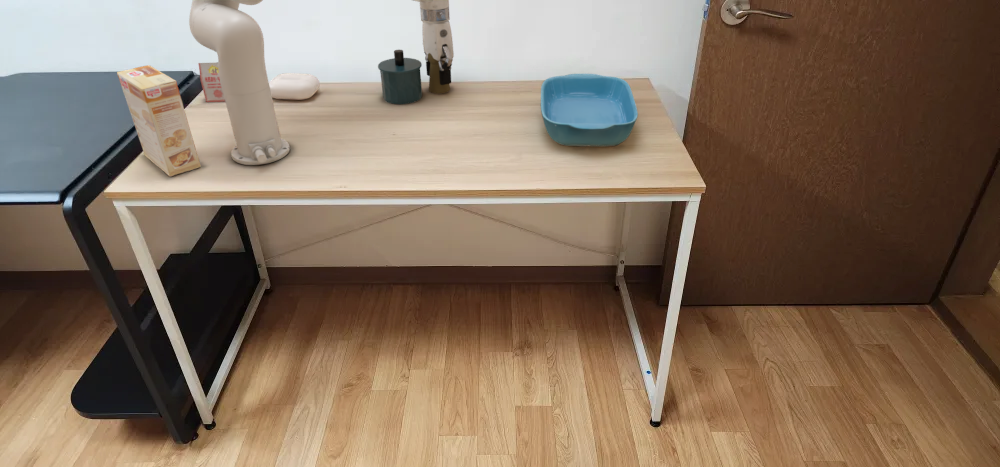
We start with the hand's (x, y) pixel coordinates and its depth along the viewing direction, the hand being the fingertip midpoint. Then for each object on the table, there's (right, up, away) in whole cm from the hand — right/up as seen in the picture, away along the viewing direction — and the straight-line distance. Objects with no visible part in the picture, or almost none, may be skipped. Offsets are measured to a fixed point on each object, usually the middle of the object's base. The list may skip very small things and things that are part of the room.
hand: (438, 79), depth 177 cm
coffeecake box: (-56, -27, -34) cm, 71 cm away
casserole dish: (+38, -16, -19) cm, 45 cm away
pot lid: (-10, +2, -7) cm, 12 cm away
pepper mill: (0, -3, +2) cm, 3 cm away
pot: (-10, -6, -3) cm, 11 cm away
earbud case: (-39, -5, -1) cm, 40 cm away
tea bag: (-59, -6, -3) cm, 59 cm away
